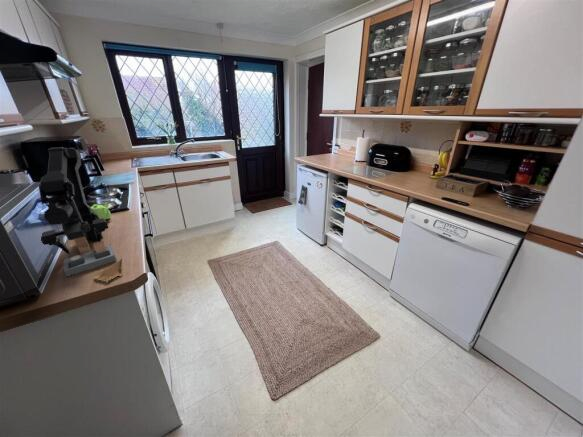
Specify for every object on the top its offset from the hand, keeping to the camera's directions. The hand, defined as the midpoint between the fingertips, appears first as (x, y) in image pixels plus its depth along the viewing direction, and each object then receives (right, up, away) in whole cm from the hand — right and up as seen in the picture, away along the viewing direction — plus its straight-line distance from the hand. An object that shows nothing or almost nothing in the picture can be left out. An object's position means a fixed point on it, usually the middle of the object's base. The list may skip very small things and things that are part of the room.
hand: (85, 249), depth 92 cm
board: (+6, -4, -4) cm, 9 cm away
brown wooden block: (0, -2, +1) cm, 2 cm away
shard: (+17, -7, -9) cm, 21 cm away
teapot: (-18, +11, +29) cm, 36 cm away
